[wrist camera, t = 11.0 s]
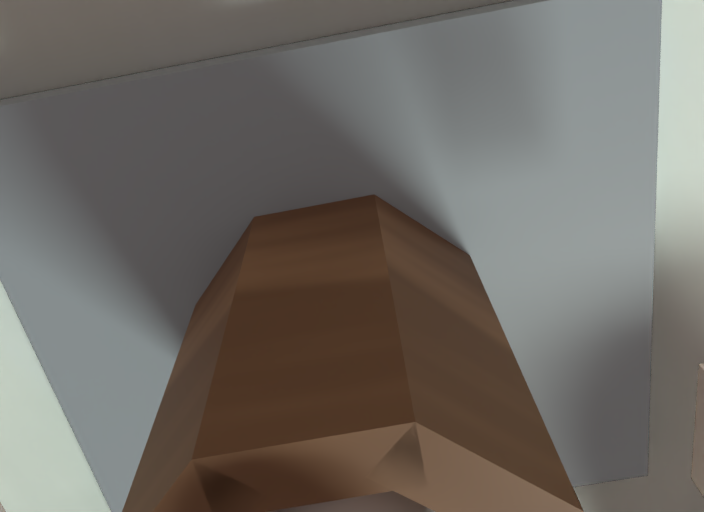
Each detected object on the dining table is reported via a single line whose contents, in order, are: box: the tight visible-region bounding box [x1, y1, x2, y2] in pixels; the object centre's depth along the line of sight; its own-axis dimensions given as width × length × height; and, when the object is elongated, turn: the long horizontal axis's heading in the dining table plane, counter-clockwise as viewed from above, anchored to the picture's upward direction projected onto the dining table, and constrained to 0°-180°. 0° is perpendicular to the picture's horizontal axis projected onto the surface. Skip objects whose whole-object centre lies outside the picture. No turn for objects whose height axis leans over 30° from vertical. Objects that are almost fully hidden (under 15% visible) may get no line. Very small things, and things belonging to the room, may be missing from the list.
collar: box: [122, 194, 583, 512], centre depth 13 cm, size 7×7×8 cm
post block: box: [0, 0, 662, 512], centre depth 13 cm, size 16×14×11 cm
